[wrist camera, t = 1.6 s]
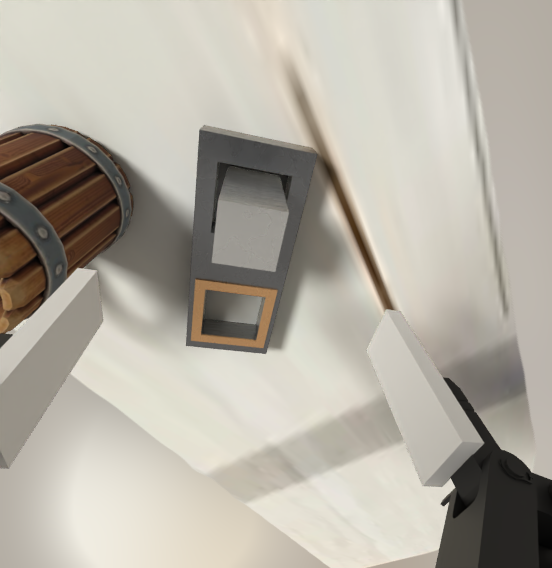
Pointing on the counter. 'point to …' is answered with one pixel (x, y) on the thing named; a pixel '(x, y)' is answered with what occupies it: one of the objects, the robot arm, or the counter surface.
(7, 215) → the mug
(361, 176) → the counter surface
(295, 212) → the rail plate
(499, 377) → the counter surface
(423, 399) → the robot arm
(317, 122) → the counter surface
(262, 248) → the steel peg
